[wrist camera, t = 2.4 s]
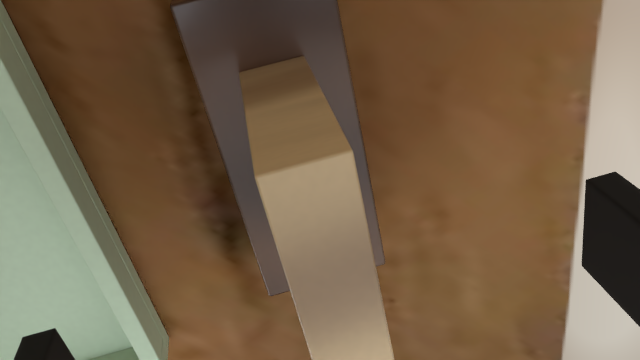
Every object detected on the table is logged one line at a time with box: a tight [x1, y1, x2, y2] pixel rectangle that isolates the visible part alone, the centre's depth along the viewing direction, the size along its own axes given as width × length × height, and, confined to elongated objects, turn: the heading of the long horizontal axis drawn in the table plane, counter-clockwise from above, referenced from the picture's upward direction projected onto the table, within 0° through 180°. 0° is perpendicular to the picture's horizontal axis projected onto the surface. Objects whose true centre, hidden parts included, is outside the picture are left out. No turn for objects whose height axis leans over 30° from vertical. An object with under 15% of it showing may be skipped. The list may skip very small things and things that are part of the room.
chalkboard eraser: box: [170, 0, 394, 360], centre depth 18 cm, size 12×5×10 cm, turn 12°
